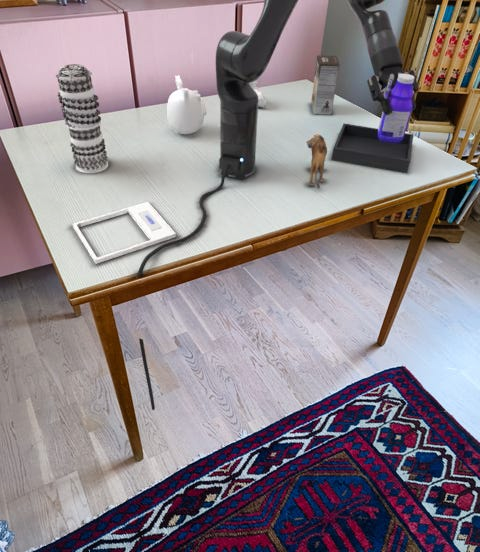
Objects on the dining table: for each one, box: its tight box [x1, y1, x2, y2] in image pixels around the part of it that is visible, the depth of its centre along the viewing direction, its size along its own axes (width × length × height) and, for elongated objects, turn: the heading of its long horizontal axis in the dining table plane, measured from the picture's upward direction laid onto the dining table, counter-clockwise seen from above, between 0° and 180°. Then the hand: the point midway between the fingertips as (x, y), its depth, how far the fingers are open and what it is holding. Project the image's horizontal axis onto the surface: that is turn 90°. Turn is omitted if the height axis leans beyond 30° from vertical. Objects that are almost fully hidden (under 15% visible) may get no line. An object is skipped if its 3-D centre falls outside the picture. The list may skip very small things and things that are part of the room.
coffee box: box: [310, 54, 341, 116], centre depth 151 cm, size 9×6×16 cm
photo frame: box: [71, 201, 177, 265], centre depth 101 cm, size 15×1×18 cm
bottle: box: [377, 74, 414, 143], centre depth 124 cm, size 7×6×17 cm
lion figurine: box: [306, 133, 328, 189], centre depth 120 cm, size 15×5×9 cm, turn 0°
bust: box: [250, 78, 267, 108], centre depth 155 cm, size 12×8×11 cm
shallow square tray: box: [331, 122, 414, 174], centre depth 133 cm, size 18×21×4 cm
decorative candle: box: [55, 63, 109, 174], centre depth 115 cm, size 9×9×25 cm
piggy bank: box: [166, 74, 207, 135], centre depth 136 cm, size 12×12×15 cm
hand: (400, 112), depth 123 cm, fingers closed on bottle, 7 cm apart
